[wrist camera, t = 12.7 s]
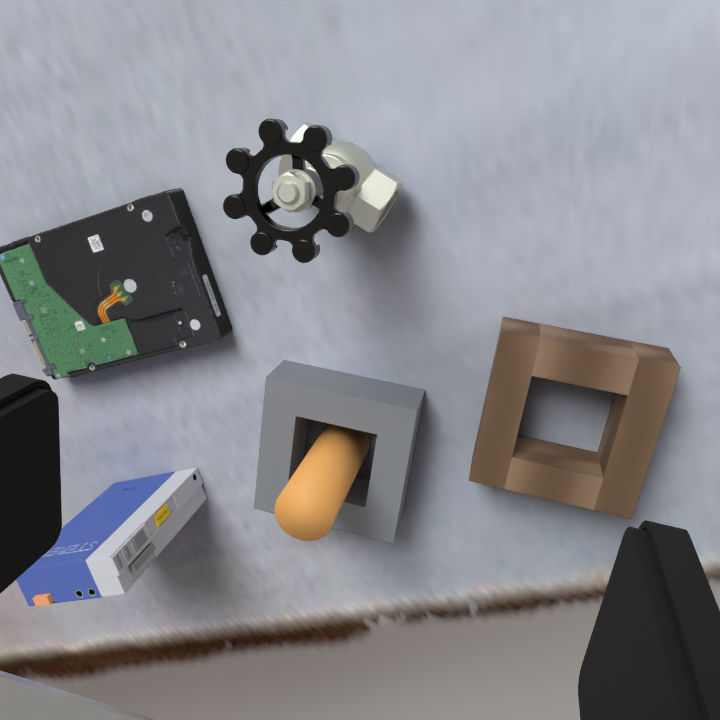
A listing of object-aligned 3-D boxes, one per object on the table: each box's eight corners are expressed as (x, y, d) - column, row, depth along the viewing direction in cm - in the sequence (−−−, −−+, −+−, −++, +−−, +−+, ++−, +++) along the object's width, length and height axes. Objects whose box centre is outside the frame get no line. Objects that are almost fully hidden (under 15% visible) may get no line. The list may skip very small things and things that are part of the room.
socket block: (424, 390, 45) (417, 410, 42) (401, 516, 49) (393, 543, 46) (283, 360, 47) (266, 377, 44) (271, 484, 51) (254, 508, 47)
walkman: (126, 513, 55) (25, 611, 44) (113, 482, 54) (7, 574, 43) (210, 498, 52) (126, 598, 41) (198, 467, 52) (109, 559, 41)
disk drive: (185, 183, 45) (12, 245, 50) (165, 186, 43) (-15, 251, 47) (239, 327, 48) (70, 374, 52) (223, 339, 45) (46, 387, 50)
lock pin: (373, 423, 47) (336, 495, 38) (366, 467, 48) (329, 547, 39) (325, 412, 48) (277, 480, 38) (319, 456, 49) (271, 532, 40)
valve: (368, 249, 43) (314, 290, 32) (281, 194, 43) (197, 216, 32) (422, 156, 41) (383, 167, 30) (329, 98, 41) (257, 87, 30)
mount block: (668, 348, 41) (680, 367, 38) (623, 490, 44) (631, 518, 41) (503, 316, 43) (501, 332, 39) (472, 455, 46) (468, 480, 43)
